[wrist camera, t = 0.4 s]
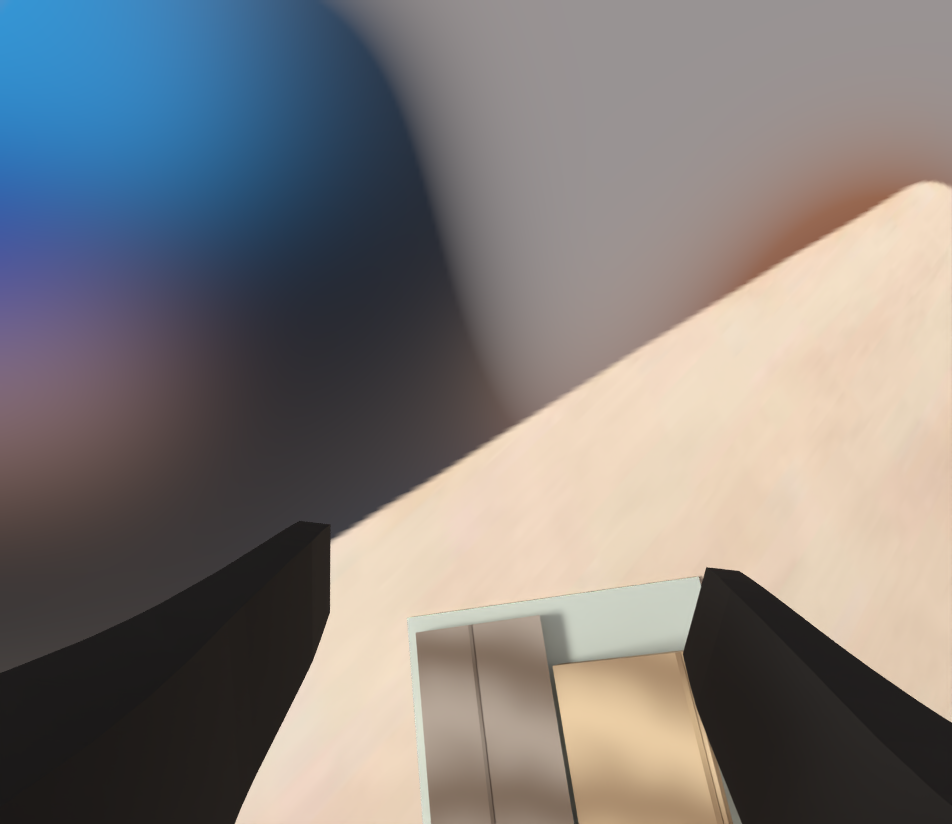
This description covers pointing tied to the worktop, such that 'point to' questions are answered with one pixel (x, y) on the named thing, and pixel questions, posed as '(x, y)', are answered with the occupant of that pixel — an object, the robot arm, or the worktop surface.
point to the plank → (638, 743)
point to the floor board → (491, 725)
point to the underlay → (578, 640)
